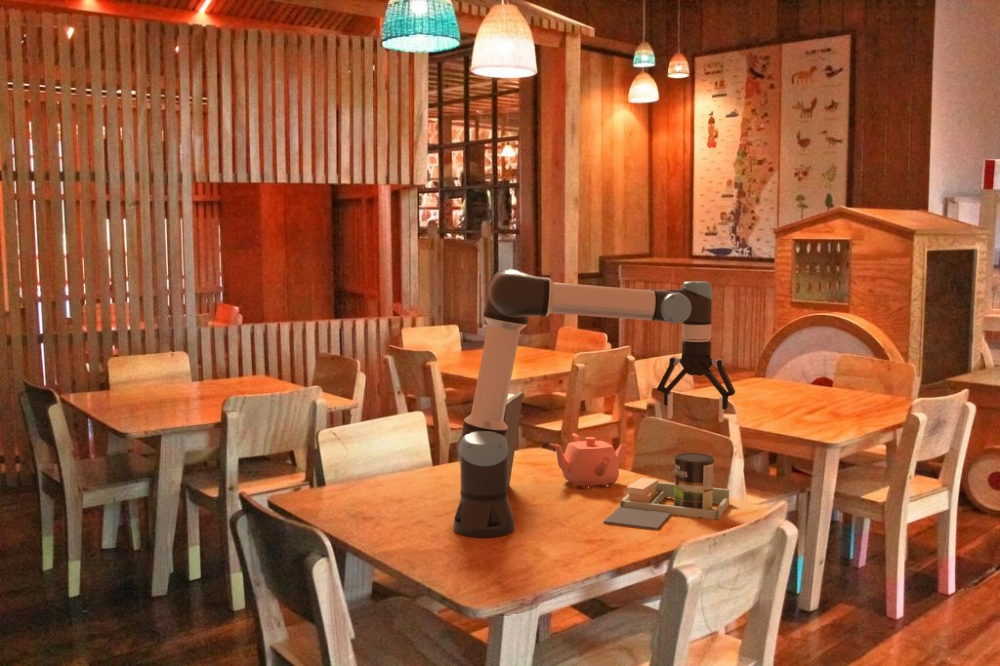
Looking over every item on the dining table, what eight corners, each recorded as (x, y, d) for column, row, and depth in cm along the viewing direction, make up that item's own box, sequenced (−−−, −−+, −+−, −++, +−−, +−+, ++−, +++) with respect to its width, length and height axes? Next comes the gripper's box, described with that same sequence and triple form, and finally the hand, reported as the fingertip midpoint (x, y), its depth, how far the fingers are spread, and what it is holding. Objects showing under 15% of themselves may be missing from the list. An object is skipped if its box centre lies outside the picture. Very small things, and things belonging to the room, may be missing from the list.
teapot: (548, 487, 277) (549, 440, 275) (572, 473, 293) (572, 429, 292) (608, 495, 269) (608, 446, 267) (629, 480, 285) (629, 434, 284)
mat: (657, 530, 236) (657, 527, 236) (603, 523, 242) (603, 521, 242) (670, 515, 249) (670, 512, 249) (619, 509, 255) (619, 506, 255)
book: (492, 503, 258) (507, 402, 255) (459, 496, 260) (473, 396, 257) (509, 485, 279) (523, 391, 276) (478, 479, 281) (492, 386, 278)
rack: (717, 519, 245) (718, 499, 245) (620, 508, 256) (620, 489, 255) (729, 503, 260) (729, 485, 259) (636, 493, 270) (636, 475, 270)
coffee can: (685, 515, 249) (686, 462, 248) (666, 505, 259) (667, 454, 257) (720, 512, 252) (721, 459, 251) (700, 501, 262) (701, 451, 260)
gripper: (747, 340, 249) (745, 420, 251) (653, 336, 259) (652, 413, 261) (742, 343, 243) (740, 425, 245) (646, 339, 252) (645, 418, 255)
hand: (695, 419), depth 253 cm, fingers open, 13 cm apart
